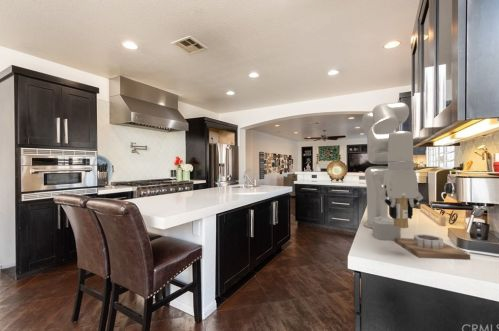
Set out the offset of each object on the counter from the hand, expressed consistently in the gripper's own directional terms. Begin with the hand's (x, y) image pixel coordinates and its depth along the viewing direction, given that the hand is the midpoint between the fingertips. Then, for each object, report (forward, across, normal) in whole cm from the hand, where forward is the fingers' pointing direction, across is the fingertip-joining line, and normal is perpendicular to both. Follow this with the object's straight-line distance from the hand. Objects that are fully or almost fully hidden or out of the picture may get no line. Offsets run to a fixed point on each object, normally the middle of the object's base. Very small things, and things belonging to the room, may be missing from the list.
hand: (400, 217), depth 85 cm
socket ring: (+12, -13, -7) cm, 19 cm away
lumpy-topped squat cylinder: (+14, -4, -24) cm, 28 cm away
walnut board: (+14, -13, -7) cm, 20 cm away
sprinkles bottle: (+4, 0, 0) cm, 4 cm away
